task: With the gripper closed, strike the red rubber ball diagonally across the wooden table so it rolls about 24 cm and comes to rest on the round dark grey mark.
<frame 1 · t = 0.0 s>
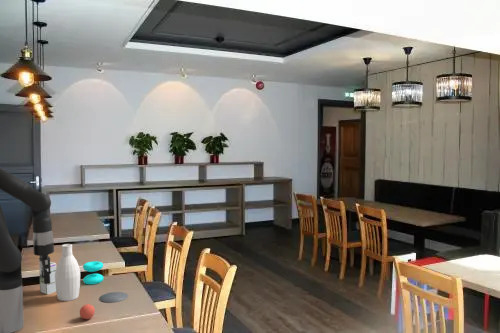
hand: (46, 280, 176), 17 cm above the table, tool pointing down, fingers open, 8 cm apart
syrup box: (48, 292, 210), on the table
donuts: (93, 282, 225), on the table
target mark: (113, 297, 203), on the table
ball: (87, 311, 179), on the table
bottle: (68, 298, 202), on the table
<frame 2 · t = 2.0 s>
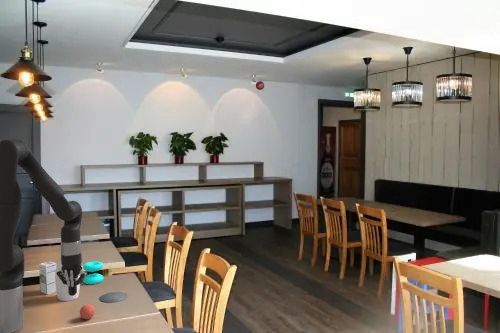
hand: (72, 294, 169), 14 cm above the table, tool pointing down, fingers closed
nothing on the table moved.
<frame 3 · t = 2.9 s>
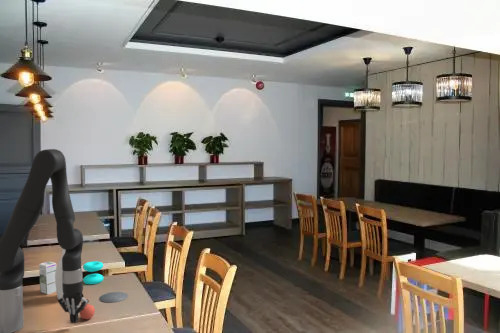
hand: (74, 322, 170), 3 cm above the table, tool pointing down, fingers closed
nothing on the table moved.
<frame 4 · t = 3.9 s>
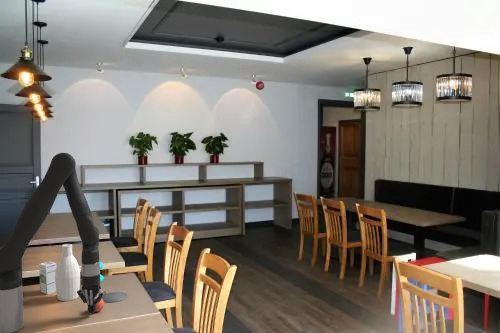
hand: (91, 312, 182), 2 cm above the table, tool pointing down, fingers closed
ball: (96, 304, 187), on the table
everything else where it was.
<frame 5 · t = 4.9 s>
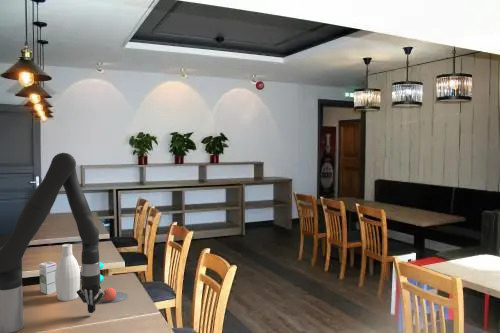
hand: (91, 312, 182), 1 cm above the table, tool pointing down, fingers closed
ball: (109, 294, 199), on the table
everything else where it was.
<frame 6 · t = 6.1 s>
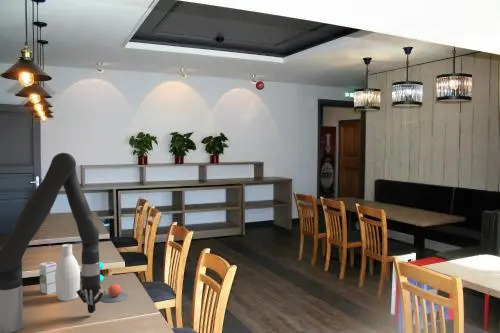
hand: (91, 312, 182), 1 cm above the table, tool pointing down, fingers closed
ball: (114, 290, 204), on the table
everything else where it was.
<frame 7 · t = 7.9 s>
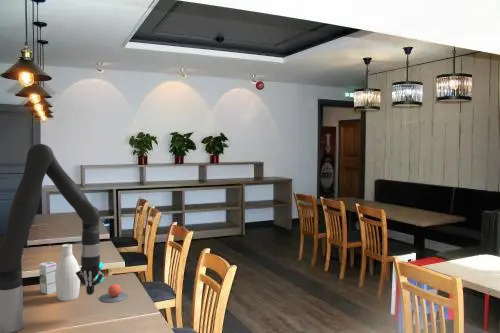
hand: (90, 294, 181), 10 cm above the table, tool pointing down, fingers closed
nothing on the table moved.
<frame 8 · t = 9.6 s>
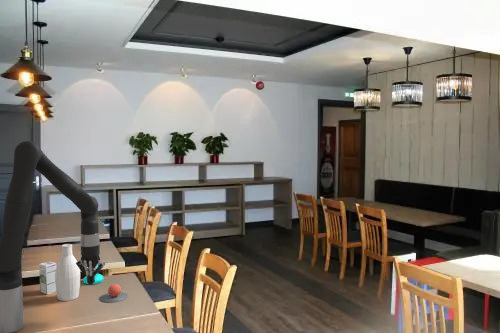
hand: (90, 283, 181), 14 cm above the table, tool pointing down, fingers closed
nothing on the table moved.
at the end: ball 1.0 cm from the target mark (horizontally); ball at rest at the end (0.0 cm/s); ball moved 25.2 cm from its start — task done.
